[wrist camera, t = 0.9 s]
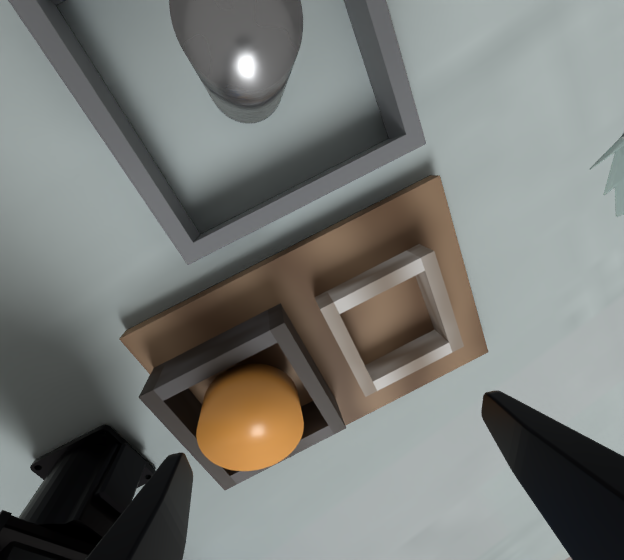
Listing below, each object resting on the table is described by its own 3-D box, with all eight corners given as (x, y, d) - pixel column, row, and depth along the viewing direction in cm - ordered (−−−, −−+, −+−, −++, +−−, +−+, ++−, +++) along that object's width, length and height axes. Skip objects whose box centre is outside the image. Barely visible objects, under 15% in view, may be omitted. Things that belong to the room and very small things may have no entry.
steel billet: (231, 136, 19) (216, 113, 11) (190, 56, 17) (139, -33, 9) (295, 103, 19) (323, 59, 11) (261, 20, 17) (265, -96, 10)
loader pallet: (241, 466, 27) (239, 515, 23) (126, 330, 21) (97, 365, 17) (478, 344, 28) (515, 373, 24) (430, 175, 22) (469, 176, 18)
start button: (234, 454, 23) (232, 486, 20) (183, 392, 20) (173, 421, 18) (313, 413, 23) (320, 440, 20) (271, 347, 20) (274, 370, 18)
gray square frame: (195, 254, 20) (187, 264, 18) (21, -10, 15) (-21, -43, 13) (406, 146, 21) (426, 143, 18) (314, -157, 15) (325, -217, 13)
